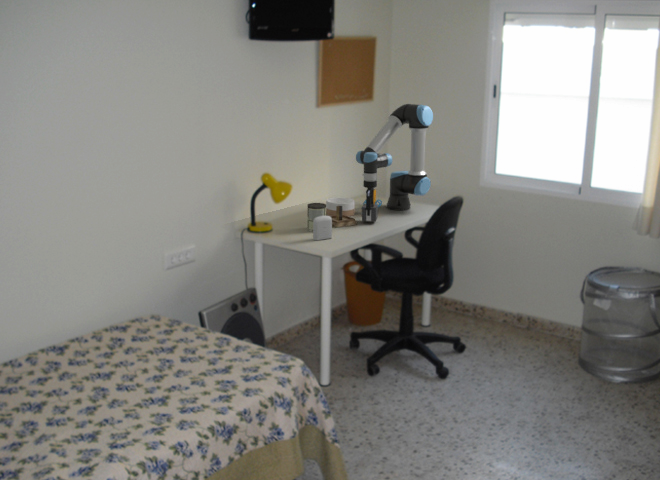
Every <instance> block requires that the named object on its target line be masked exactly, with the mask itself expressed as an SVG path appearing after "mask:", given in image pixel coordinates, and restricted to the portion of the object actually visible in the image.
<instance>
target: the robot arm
mask: <svg viewBox="0 0 660 480" xmlns="http://www.w3.org/2000/svg"><path fill="white" fill-rule="evenodd" d="M433 120H434V113H433V111H432V109H431V107H430V106H428V105H426V104H425V105H424V104H415V103H412V104H411V103H405V104H402V105H400V106H399V107H397V108H396V109H395V110H394V111H392V113H391V114H389V116H388V119H387V122H385V124H384V125H383V126H382V127H381V129H380V130H379V131H378V132H377V134H376V135H375V136H374V137H373V138H372V139H371V141H370V142H369V144H368V145H367V146H366V148H365V149H364V150H359V151H357V153H356V154H355V160H356V163H358V164H361V165H363V173H362V176H363V183H362V185H363V187H364V188H366V191H365V195H366V196H365V197H366V199H365V200H366V209H365V210H366V221H365V222H372V221H371V204H374V202H373V195H374V189H376V188H377V186H378V181H377V180H378V169H381V168H386V167H389V166H391V165H392V164H393V156H392V155H391V154H390V153H387V152H386V153H380V151H381V150H383V148H384V146H385V145H386V144H387V143H388V142H389V141H390V139H391V138H392V137H393V135H394V134H395V133H396V132H397V130H398V129H400V128H402V127H403V126H404V125H407V124H408V128H409V130H411V131H410V134H411V135H410V138H411V139H410V166H409V169H410V170H399V171H393V172H391V173H390V176H389V177H390V178H389V197H388V200H387V202H386V209H389V210H393V211H407V210H411V207H412V205H411V201H410V196H409V194H410V195H414V196H420V197H421V196H425V195H427V194H428V192H429V190H430V189H431V179H430V178H429V177H428V174H427V173H428V172H426V170H425V169H426V168H425V167H426V165H425V164H426V163H425V162H426V137H427V130H428V129H429V126H431V124H432V123H433ZM368 207H369V208H368Z"/></svg>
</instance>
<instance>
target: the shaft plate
mask: <svg viewBox="0 0 660 480" xmlns="http://www.w3.org/2000/svg"><path fill="white" fill-rule="evenodd" d="M330 217H331V218H332V227H334V228H343V227H349V226H353V225H354V226H355V225H357V223H358V222H357V219H356V218H353V217H351V216H345V215H342V206H336V216H330Z"/></svg>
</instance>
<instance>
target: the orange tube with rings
mask: <svg viewBox="0 0 660 480" xmlns="http://www.w3.org/2000/svg"><path fill="white" fill-rule="evenodd" d="M373 202H374V204H376V205H378V209H379V208H380V207H381V205H382V204H383V201H382V200H381V199H377V189H376V188H374V195H373ZM364 204H366V199H365V200H364V202H363V204H362V206H363V205H364Z"/></svg>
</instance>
